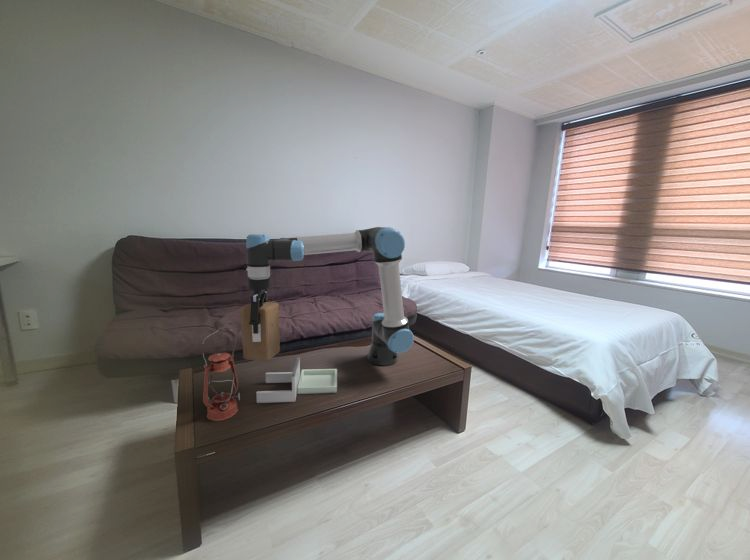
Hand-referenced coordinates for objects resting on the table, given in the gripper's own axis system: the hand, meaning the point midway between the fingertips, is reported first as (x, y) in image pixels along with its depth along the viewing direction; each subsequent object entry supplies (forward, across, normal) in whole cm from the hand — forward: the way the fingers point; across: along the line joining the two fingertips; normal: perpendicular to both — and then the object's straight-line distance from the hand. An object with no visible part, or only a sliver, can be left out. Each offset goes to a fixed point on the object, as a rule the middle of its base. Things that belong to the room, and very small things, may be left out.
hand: (261, 335), depth 113 cm
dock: (+23, 0, +6) cm, 24 cm away
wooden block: (+8, 0, 0) cm, 8 cm away
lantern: (+23, +12, -10) cm, 28 cm away
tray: (+23, -5, +21) cm, 31 cm away
